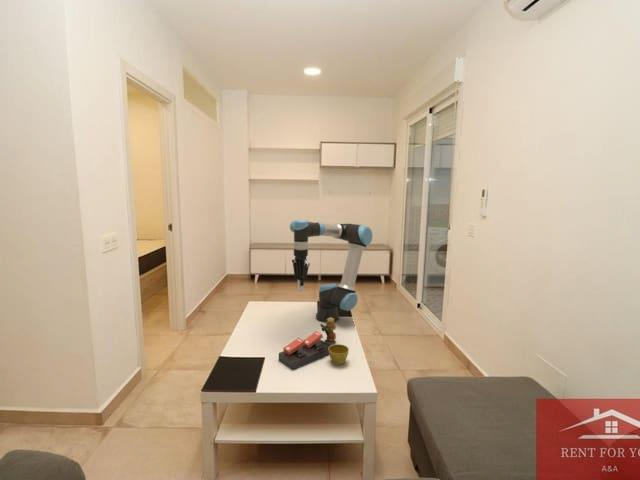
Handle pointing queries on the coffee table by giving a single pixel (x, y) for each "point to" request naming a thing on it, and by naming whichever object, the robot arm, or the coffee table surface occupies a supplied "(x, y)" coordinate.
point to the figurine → (329, 331)
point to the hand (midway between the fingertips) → (300, 291)
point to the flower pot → (338, 353)
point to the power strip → (305, 355)
